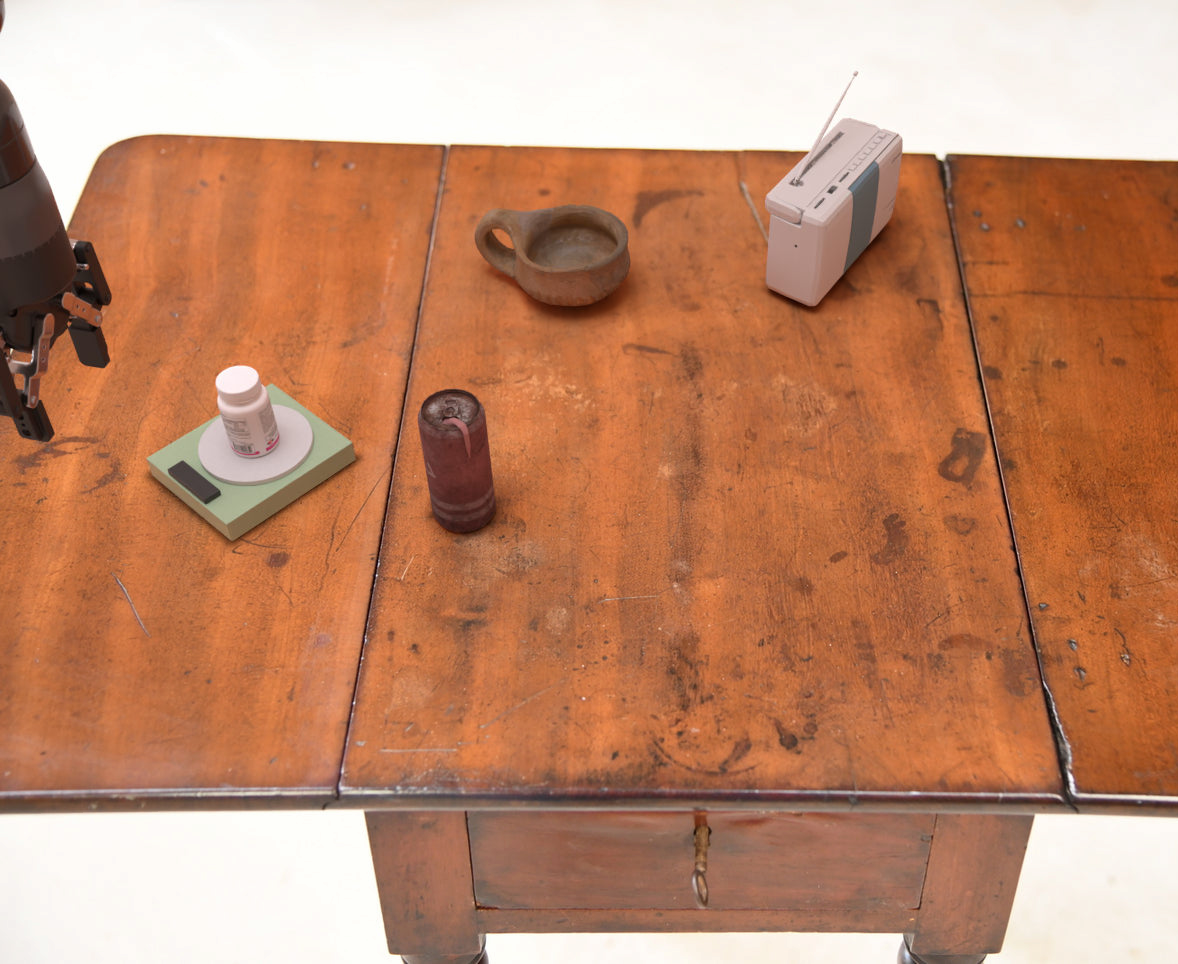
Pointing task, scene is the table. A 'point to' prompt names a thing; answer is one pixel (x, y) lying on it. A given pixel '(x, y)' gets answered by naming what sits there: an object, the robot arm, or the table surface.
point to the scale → (251, 467)
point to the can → (457, 459)
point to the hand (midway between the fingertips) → (68, 400)
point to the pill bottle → (246, 412)
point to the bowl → (558, 251)
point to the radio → (831, 207)
